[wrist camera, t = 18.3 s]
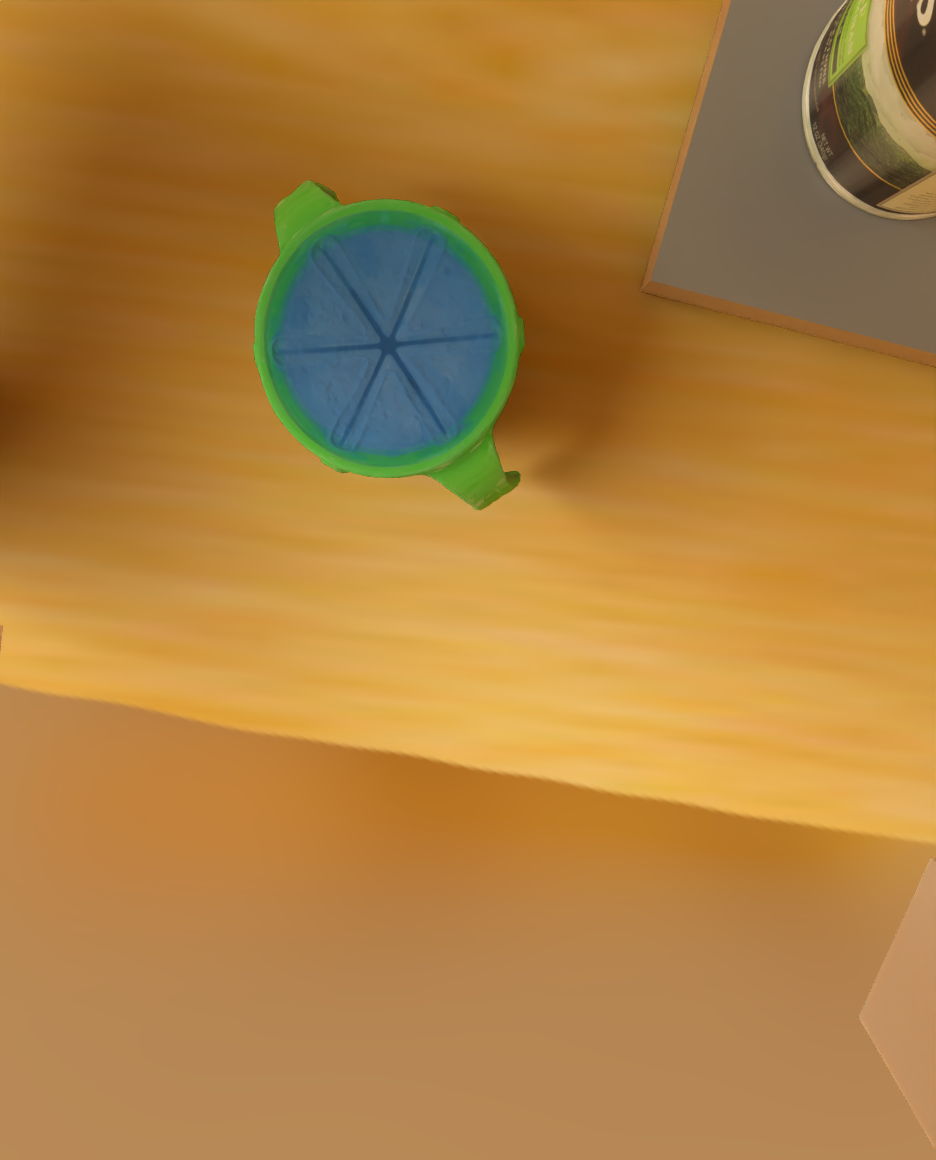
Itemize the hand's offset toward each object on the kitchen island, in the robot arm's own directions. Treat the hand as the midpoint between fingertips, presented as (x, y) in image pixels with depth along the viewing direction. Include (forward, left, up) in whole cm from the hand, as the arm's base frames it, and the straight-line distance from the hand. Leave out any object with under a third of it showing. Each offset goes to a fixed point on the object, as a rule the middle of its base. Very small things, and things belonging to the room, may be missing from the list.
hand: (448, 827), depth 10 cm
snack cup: (-6, +7, -31) cm, 33 cm away
